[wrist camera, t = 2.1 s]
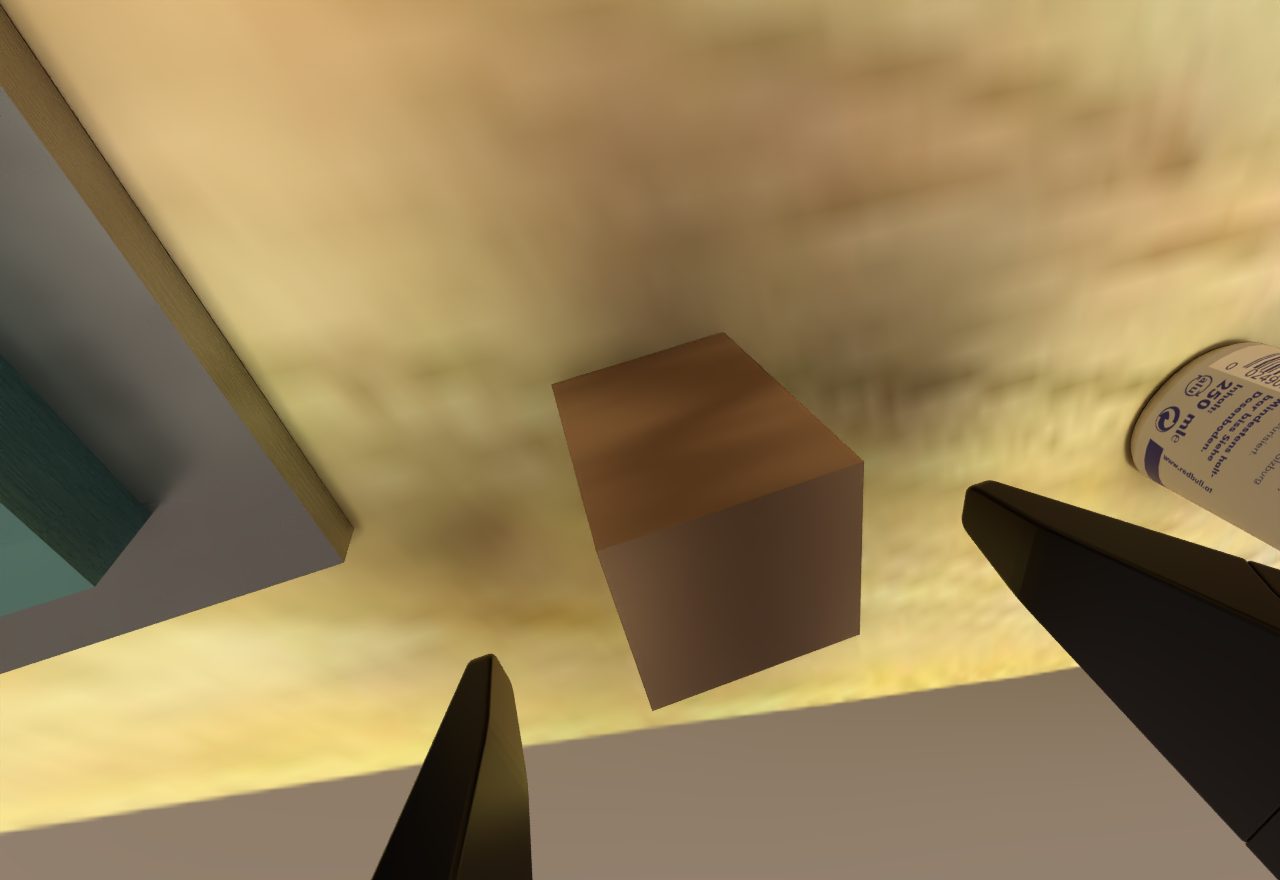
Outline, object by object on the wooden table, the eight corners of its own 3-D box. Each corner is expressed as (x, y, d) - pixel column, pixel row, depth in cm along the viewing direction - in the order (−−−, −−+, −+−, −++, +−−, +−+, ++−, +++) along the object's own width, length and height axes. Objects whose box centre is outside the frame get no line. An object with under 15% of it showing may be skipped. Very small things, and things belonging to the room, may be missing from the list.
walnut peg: (723, 331, 14) (863, 461, 9) (741, 470, 16) (859, 634, 11) (551, 384, 13) (596, 551, 8) (596, 518, 16) (652, 710, 11)
